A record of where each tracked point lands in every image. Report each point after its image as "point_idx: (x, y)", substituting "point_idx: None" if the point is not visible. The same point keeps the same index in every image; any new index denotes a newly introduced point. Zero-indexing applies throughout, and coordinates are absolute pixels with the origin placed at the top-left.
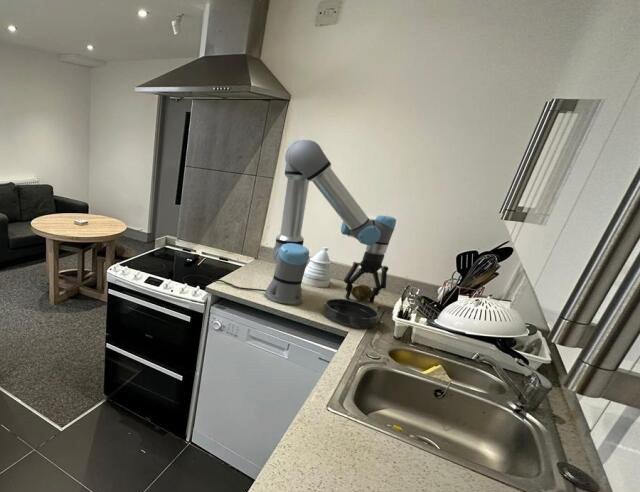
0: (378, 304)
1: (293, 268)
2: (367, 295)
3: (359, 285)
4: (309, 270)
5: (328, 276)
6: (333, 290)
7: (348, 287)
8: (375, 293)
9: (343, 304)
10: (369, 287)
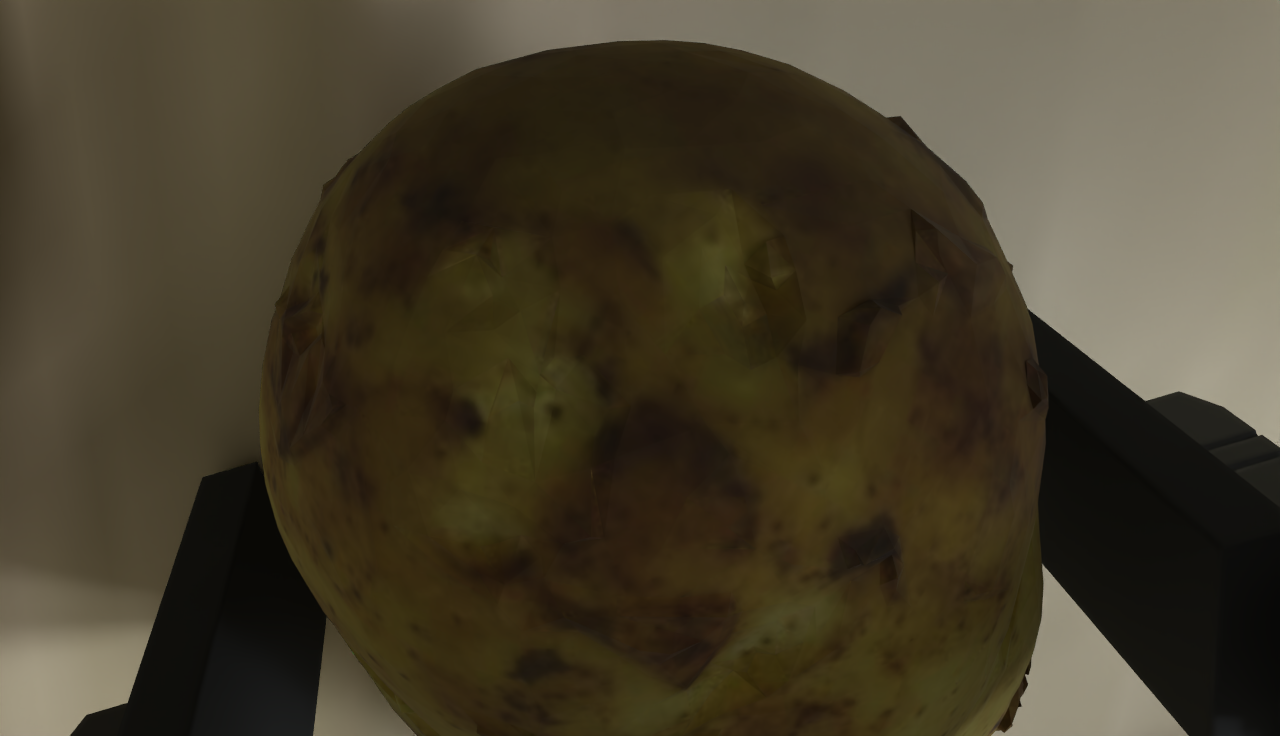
0: (25, 491)
1: None
2: (489, 68)
3: (976, 695)
4: None
5: None
6: (1161, 705)
7: (1271, 484)
8: (150, 712)
9: None
10: (512, 642)
